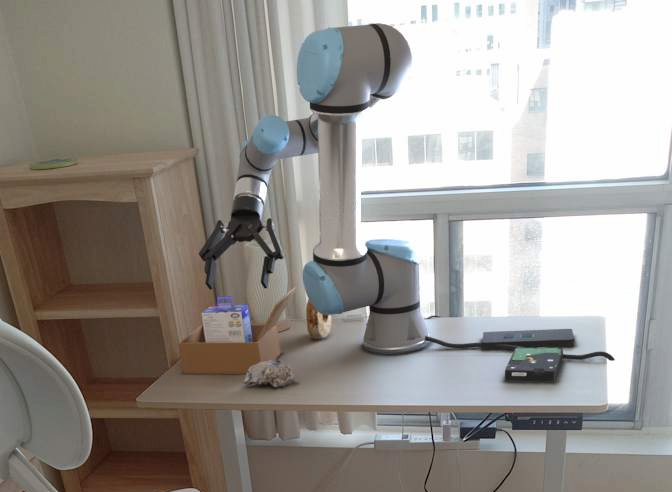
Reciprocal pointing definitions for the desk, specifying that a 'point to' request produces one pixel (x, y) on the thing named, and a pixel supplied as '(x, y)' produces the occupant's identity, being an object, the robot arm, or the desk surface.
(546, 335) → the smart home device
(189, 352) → the carton
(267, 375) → the mineral specimen
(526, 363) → the disk drive
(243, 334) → the ink cartridge box
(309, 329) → the stone disc
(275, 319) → the flap
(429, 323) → the desk surface
